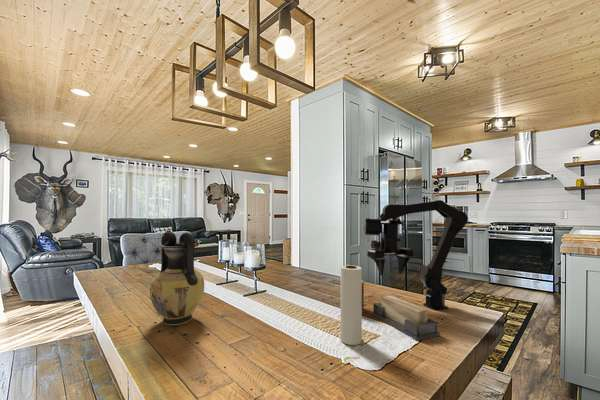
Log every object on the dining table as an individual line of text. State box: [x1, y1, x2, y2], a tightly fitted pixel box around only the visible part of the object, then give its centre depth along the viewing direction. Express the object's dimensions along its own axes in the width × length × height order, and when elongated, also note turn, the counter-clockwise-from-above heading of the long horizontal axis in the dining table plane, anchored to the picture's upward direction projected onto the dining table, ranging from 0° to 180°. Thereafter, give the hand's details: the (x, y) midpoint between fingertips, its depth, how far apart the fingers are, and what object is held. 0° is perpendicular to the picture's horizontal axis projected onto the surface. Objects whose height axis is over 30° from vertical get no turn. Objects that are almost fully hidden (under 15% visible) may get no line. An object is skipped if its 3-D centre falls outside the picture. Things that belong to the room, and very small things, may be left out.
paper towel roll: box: [339, 263, 363, 346], centre depth 83 cm, size 7×6×21 cm
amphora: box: [149, 231, 205, 326], centre depth 96 cm, size 18×17×30 cm
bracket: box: [371, 301, 441, 342], centre depth 94 cm, size 9×22×4 cm, turn 21°
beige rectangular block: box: [380, 295, 428, 325], centre depth 94 cm, size 4×16×6 cm, turn 27°
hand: (390, 274), depth 113 cm, fingers open, 9 cm apart
